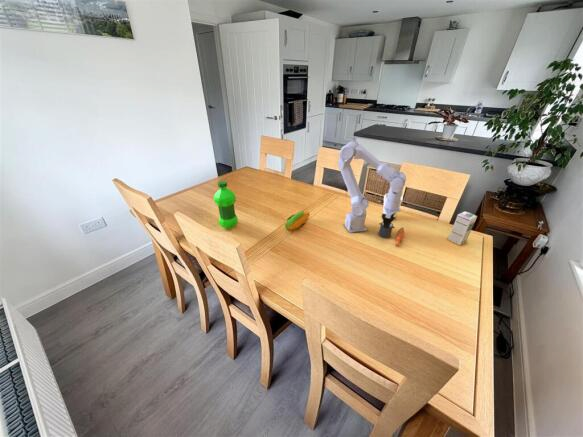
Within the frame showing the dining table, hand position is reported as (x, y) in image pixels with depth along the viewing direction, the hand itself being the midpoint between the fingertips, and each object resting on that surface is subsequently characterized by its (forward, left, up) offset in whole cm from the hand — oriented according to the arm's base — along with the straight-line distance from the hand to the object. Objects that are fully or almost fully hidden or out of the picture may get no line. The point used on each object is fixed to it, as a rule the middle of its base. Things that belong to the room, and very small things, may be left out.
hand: (387, 224), depth 115 cm
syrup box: (+32, -11, -7) cm, 34 cm away
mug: (0, 0, -7) cm, 7 cm away
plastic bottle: (-77, +23, -7) cm, 81 cm away
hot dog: (-41, +17, -7) cm, 45 cm away
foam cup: (+11, +15, -7) cm, 20 cm away
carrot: (+5, -4, -7) cm, 9 cm away
